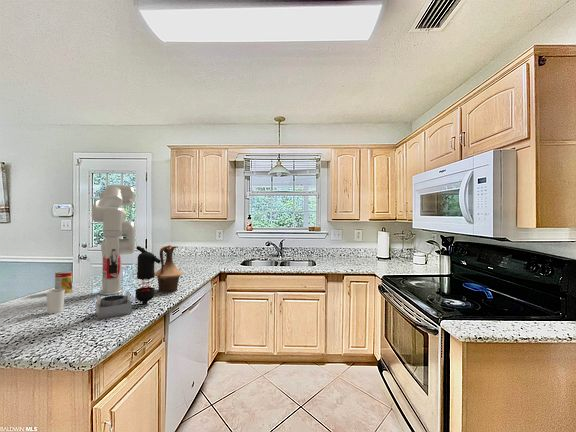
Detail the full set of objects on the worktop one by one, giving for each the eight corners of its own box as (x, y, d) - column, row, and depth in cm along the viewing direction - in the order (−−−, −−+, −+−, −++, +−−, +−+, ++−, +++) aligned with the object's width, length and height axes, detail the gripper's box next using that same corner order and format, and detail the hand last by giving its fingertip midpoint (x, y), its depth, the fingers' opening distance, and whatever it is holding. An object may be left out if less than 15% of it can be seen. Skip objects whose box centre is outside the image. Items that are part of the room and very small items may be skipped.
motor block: (95, 312, 134) (95, 293, 134) (126, 307, 142) (127, 289, 142) (98, 319, 125) (98, 298, 126) (131, 313, 134) (131, 294, 134)
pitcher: (171, 294, 166) (172, 246, 166) (145, 292, 170) (146, 245, 170) (188, 287, 183) (188, 244, 184) (164, 286, 187) (165, 243, 187)
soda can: (123, 277, 137) (123, 252, 137) (114, 280, 130) (115, 254, 130) (108, 277, 137) (108, 252, 137) (98, 280, 130) (99, 254, 130)
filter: (129, 305, 145) (130, 246, 145) (140, 300, 154) (142, 245, 154) (153, 307, 143) (155, 247, 143) (164, 302, 152) (165, 245, 152)
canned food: (75, 290, 171) (75, 270, 171) (63, 294, 163) (64, 273, 164) (63, 290, 172) (63, 270, 172) (51, 293, 164) (51, 272, 164)
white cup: (49, 310, 136) (50, 289, 136) (66, 308, 139) (67, 288, 139) (43, 314, 130) (43, 292, 130) (61, 313, 132) (61, 291, 133)
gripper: (100, 233, 138) (100, 269, 138) (105, 235, 124) (104, 276, 124) (118, 232, 143) (117, 268, 143) (124, 235, 129) (124, 274, 129)
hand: (111, 271), depth 134 cm, fingers closed on soda can, 7 cm apart
